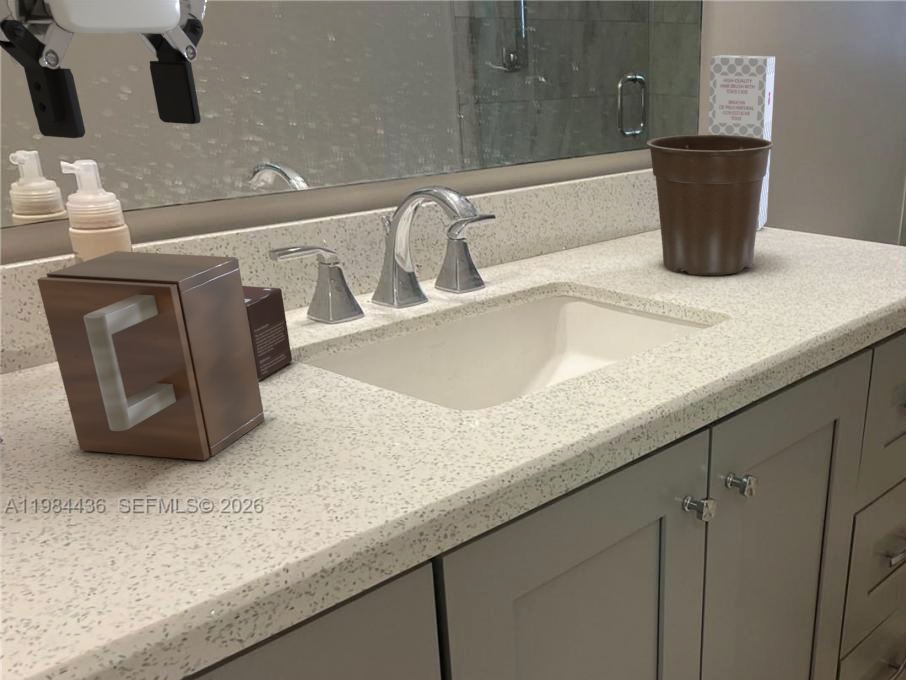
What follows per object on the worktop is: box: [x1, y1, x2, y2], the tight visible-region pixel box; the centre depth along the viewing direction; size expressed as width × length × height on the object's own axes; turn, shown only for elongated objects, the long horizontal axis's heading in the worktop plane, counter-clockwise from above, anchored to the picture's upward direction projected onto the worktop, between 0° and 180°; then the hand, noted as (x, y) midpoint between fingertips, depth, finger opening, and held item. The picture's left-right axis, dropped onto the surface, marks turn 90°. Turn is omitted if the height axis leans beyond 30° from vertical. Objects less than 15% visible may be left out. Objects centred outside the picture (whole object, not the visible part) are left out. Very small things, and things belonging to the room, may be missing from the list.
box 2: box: [707, 54, 776, 232], centre depth 163 cm, size 8×8×25 cm
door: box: [36, 276, 211, 461], centre depth 74 cm, size 7×10×13 cm
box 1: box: [242, 285, 293, 382], centre depth 97 cm, size 6×6×7 cm
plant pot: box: [646, 134, 774, 277], centre depth 137 cm, size 16×16×16 cm
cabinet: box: [46, 250, 265, 457], centre depth 81 cm, size 8×10×14 cm
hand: (125, 129), depth 69 cm, fingers open, 9 cm apart
